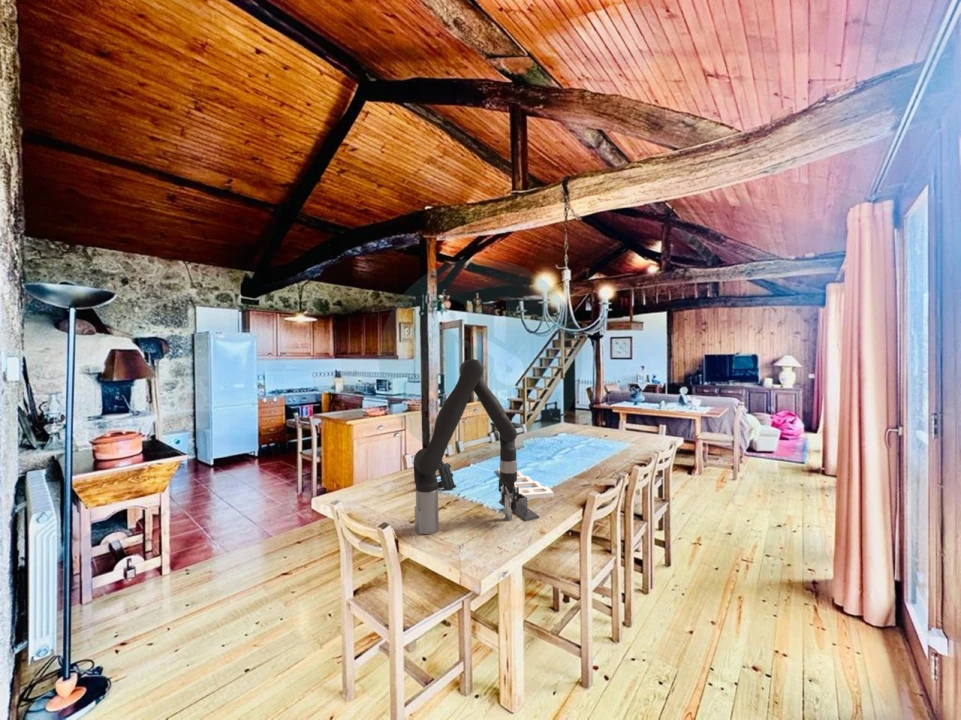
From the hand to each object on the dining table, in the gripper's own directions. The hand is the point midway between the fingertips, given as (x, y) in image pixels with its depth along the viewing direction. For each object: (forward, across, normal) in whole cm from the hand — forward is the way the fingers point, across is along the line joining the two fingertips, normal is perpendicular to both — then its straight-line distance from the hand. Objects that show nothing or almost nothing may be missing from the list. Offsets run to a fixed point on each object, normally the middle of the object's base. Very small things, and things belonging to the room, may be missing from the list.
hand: (508, 506), depth 178 cm
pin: (+6, 0, 0) cm, 6 cm away
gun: (+6, -46, -15) cm, 49 cm away
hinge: (+6, -7, +9) cm, 13 cm away
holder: (+6, -37, +29) cm, 47 cm away
